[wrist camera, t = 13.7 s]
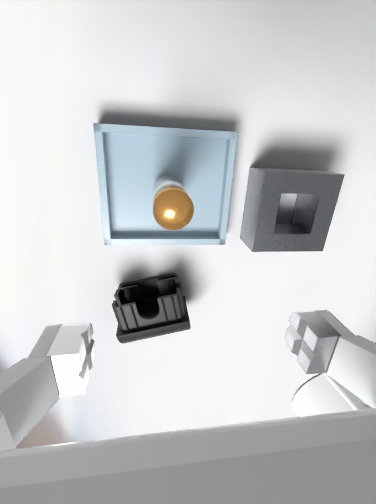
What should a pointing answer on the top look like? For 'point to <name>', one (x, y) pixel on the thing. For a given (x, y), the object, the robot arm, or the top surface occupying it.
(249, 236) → the socket block
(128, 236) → the tray
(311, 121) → the top surface
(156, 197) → the gold and grey cylinder
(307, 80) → the top surface
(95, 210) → the top surface
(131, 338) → the end cap
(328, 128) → the top surface
